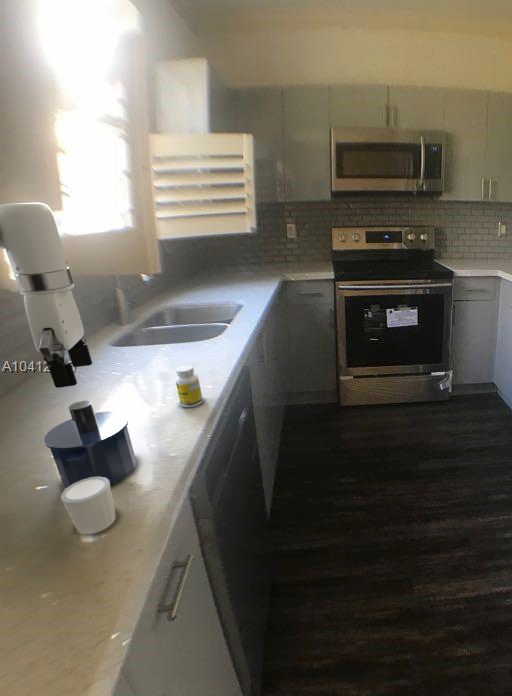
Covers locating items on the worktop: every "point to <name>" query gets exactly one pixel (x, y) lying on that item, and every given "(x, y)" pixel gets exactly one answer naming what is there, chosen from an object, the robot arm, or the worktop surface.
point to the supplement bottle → (188, 387)
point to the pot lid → (85, 428)
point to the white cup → (90, 504)
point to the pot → (97, 461)
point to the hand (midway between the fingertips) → (75, 375)
